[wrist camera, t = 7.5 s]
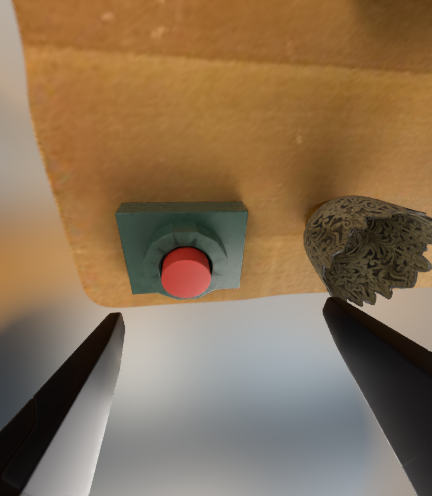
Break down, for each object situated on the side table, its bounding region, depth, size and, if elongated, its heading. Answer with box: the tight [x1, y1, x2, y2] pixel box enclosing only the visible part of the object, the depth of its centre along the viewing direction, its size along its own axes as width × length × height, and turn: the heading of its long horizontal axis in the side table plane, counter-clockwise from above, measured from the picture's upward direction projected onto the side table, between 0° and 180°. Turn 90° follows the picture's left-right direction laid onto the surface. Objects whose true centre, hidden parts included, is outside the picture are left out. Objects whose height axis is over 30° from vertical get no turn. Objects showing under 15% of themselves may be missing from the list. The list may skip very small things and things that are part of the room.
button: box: [161, 247, 211, 298], centre depth 17 cm, size 4×4×2 cm
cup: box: [304, 196, 432, 307], centre depth 18 cm, size 8×7×8 cm
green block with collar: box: [115, 202, 248, 300], centre depth 19 cm, size 10×8×4 cm
